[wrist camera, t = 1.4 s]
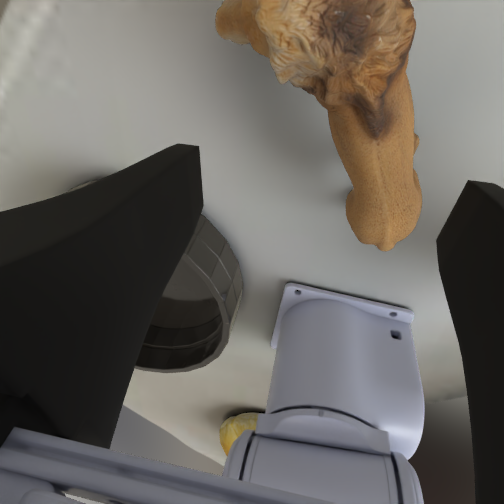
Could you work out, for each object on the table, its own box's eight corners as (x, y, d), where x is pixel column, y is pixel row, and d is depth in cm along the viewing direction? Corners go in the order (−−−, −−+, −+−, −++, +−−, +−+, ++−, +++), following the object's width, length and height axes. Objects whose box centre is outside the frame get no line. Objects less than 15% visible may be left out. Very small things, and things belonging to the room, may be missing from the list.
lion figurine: (243, -16, 16) (163, -5, 9) (359, -109, 13) (378, -199, 6) (365, 233, 22) (375, 351, 15) (458, 202, 20) (520, 326, 13)
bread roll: (311, 438, 40) (309, 474, 37) (255, 448, 45) (249, 481, 42) (265, 402, 37) (259, 438, 34) (211, 417, 42) (201, 450, 39)
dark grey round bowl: (255, 203, 22) (240, 245, 19) (234, 346, 33) (222, 391, 29) (29, 155, 24) (-25, 186, 20) (76, 307, 34) (46, 345, 30)
